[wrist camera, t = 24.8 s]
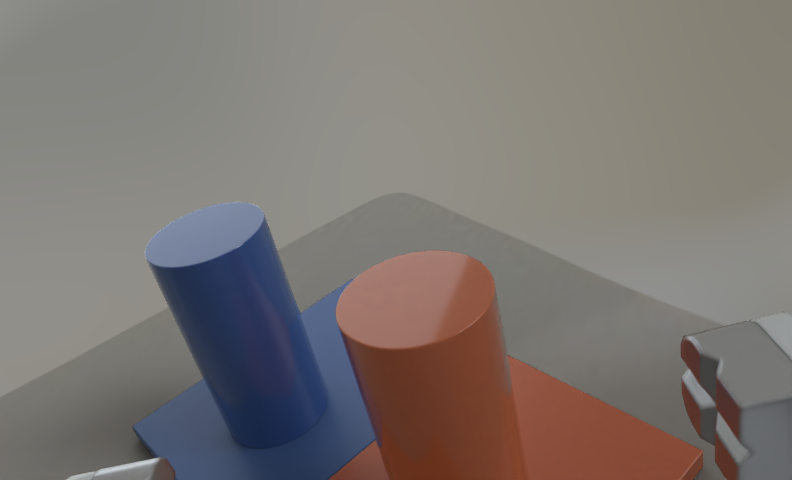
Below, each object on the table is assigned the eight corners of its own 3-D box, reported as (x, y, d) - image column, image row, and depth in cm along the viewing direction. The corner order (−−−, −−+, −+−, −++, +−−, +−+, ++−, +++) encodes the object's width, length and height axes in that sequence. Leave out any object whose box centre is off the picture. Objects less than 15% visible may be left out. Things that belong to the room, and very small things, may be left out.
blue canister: (349, 398, 36) (287, 218, 30) (262, 466, 33) (177, 281, 28) (291, 358, 40) (227, 192, 34) (209, 416, 37) (125, 245, 32)
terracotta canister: (560, 494, 28) (529, 277, 23) (470, 593, 26) (410, 373, 20) (463, 433, 32) (416, 235, 27) (376, 513, 29) (303, 311, 24)
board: (703, 466, 29) (704, 450, 29) (441, 800, 21) (434, 786, 21) (355, 290, 46) (352, 278, 46) (138, 438, 38) (131, 426, 38)
